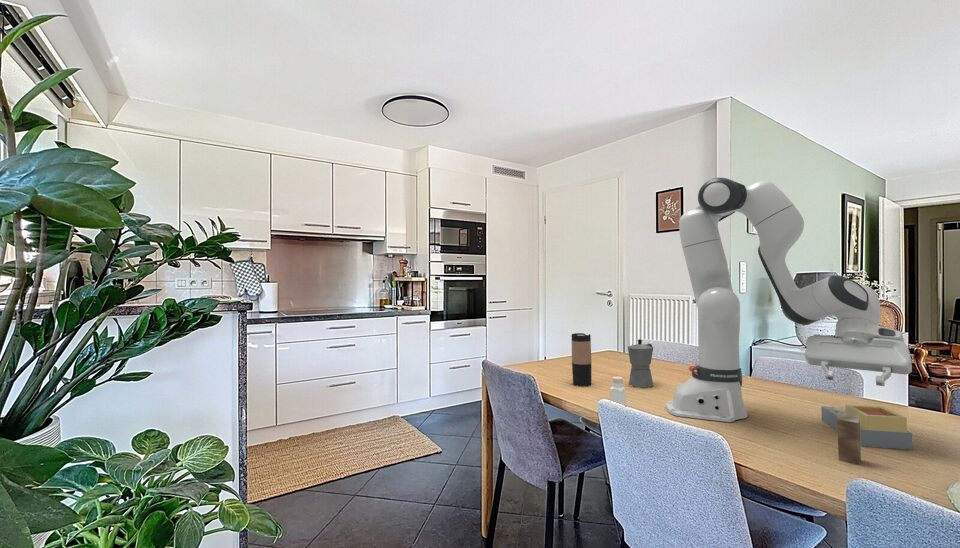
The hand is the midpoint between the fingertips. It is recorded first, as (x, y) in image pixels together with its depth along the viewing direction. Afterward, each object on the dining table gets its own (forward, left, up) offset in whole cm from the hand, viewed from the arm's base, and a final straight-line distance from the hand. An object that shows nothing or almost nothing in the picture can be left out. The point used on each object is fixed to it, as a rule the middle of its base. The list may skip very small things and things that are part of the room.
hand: (853, 381), depth 104 cm
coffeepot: (-45, +53, -16) cm, 71 cm away
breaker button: (+6, +4, -14) cm, 15 cm away
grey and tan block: (+6, +10, -16) cm, 19 cm away
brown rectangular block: (-6, -10, -16) cm, 20 cm away
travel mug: (-68, +49, -16) cm, 85 cm away
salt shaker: (-55, +21, -16) cm, 61 cm away
